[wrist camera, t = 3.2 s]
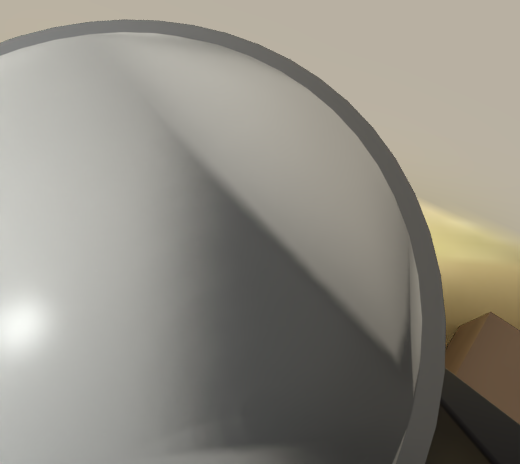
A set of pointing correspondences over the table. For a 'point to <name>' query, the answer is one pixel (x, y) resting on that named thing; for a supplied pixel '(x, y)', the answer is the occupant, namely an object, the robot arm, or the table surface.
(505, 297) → the table surface
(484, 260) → the table surface
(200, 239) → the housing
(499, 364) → the stand
